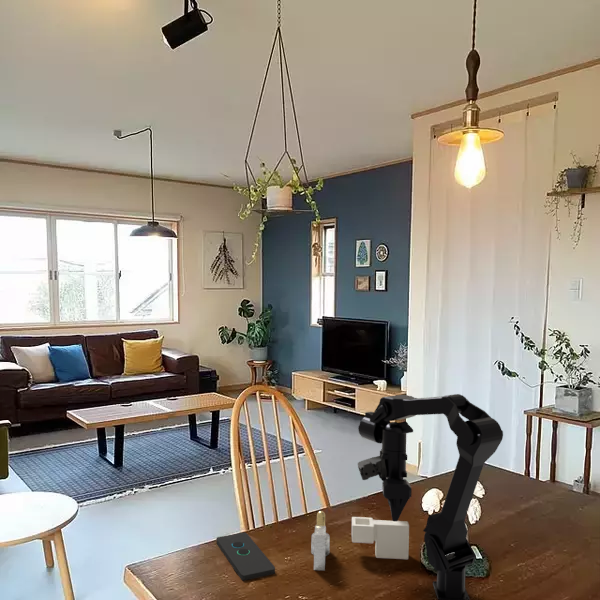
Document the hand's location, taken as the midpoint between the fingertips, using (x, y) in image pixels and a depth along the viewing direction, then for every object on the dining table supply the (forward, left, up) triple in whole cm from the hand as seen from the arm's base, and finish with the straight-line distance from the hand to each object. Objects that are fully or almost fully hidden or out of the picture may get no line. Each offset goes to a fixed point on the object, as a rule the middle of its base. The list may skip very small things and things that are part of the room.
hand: (392, 513), depth 132 cm
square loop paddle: (0, +3, -10) cm, 11 cm away
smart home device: (-4, +35, -11) cm, 37 cm away
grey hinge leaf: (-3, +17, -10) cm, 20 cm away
